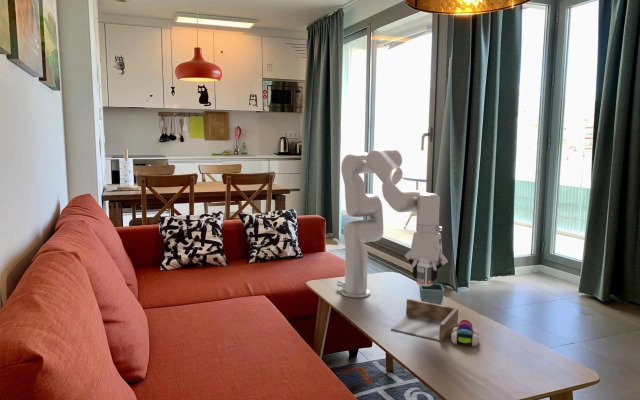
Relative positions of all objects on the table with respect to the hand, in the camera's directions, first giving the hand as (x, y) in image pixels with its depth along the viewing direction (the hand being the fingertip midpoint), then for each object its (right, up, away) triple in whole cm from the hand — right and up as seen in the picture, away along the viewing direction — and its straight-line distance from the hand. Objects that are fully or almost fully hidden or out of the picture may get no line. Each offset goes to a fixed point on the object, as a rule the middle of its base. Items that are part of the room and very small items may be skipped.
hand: (424, 278), depth 173 cm
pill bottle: (0, -2, 0) cm, 2 cm away
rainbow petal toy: (+11, -20, -10) cm, 25 cm away
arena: (0, -17, +2) cm, 18 cm away
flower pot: (+7, -15, +21) cm, 27 cm away
